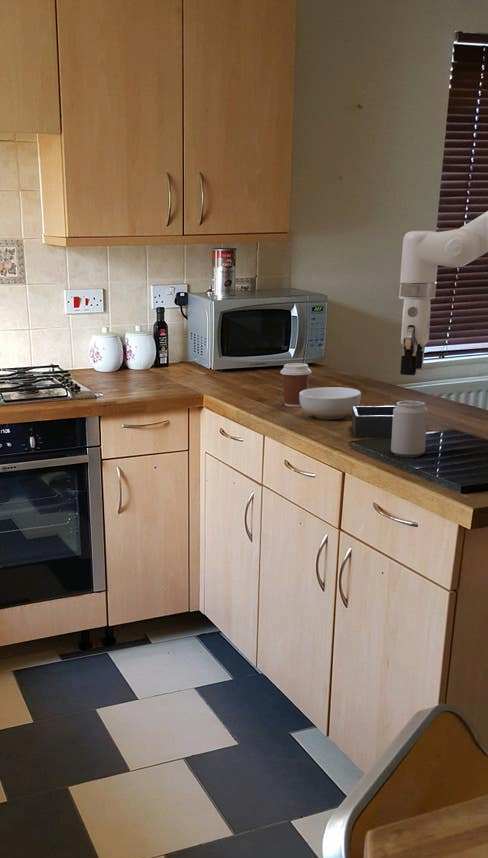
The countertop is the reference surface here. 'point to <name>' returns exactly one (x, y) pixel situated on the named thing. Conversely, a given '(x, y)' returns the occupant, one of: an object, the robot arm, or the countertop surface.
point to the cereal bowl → (329, 401)
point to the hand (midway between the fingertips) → (411, 371)
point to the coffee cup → (294, 382)
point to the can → (409, 428)
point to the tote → (372, 421)
